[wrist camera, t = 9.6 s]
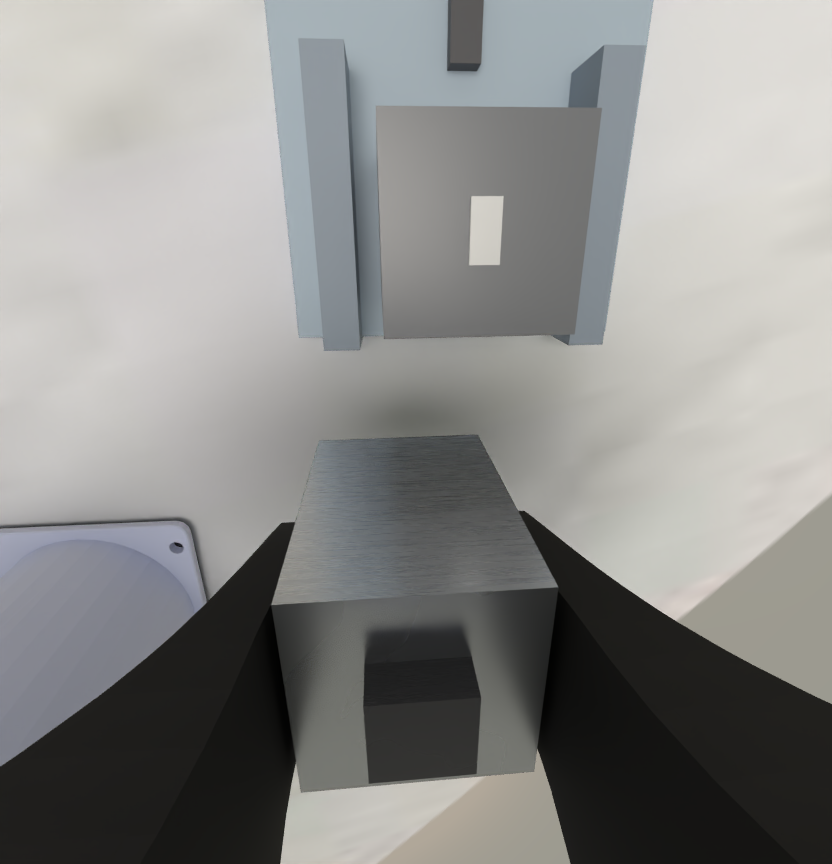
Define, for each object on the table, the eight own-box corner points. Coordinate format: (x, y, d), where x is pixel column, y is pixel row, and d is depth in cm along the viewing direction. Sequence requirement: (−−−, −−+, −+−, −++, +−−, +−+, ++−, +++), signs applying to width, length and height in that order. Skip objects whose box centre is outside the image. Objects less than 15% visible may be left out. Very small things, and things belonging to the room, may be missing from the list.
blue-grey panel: (592, 326, 16) (635, 343, 14) (227, 333, 16) (194, 353, 13) (673, -273, 11) (772, -445, 8) (124, -310, 10) (29, -515, 7)
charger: (507, 302, 15) (576, 335, 10) (382, 304, 15) (383, 339, 9) (517, 157, 13) (603, 107, 8) (376, 157, 13) (375, 104, 8)
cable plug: (472, 563, 12) (547, 815, 7) (331, 571, 11) (294, 840, 6) (477, 434, 10) (577, 623, 5) (318, 440, 10) (258, 645, 5)
